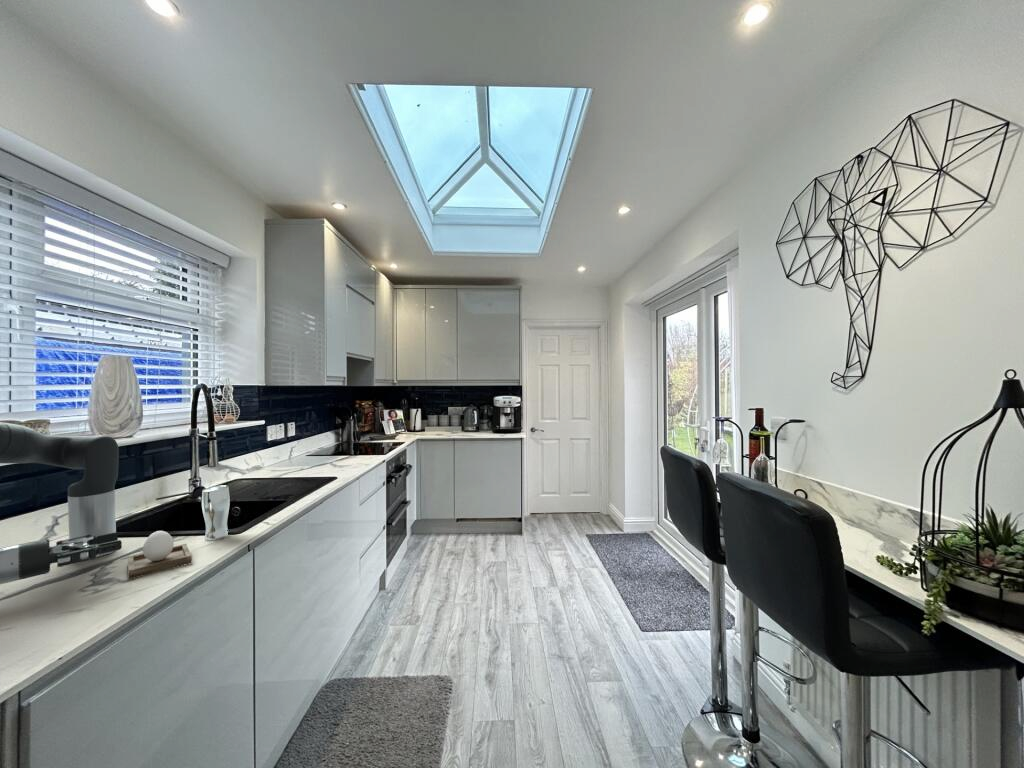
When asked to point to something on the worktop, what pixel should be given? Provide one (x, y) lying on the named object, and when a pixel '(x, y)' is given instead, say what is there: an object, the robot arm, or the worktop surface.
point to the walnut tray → (158, 562)
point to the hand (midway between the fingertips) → (119, 540)
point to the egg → (158, 546)
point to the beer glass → (215, 511)
